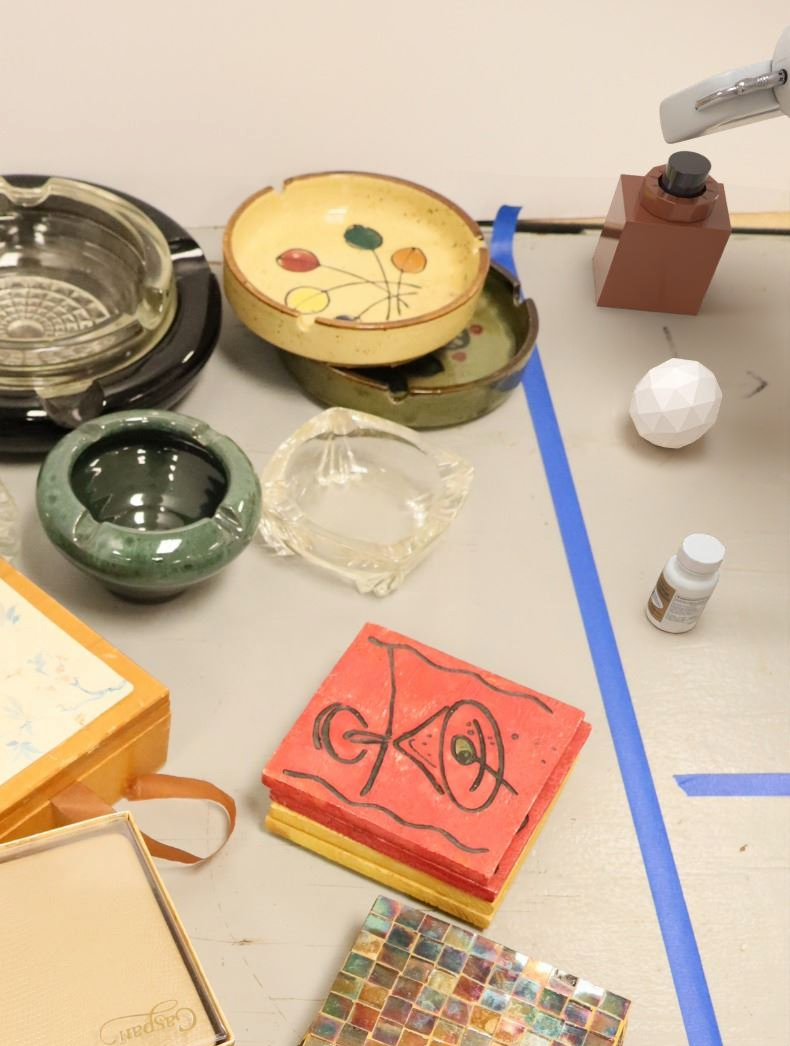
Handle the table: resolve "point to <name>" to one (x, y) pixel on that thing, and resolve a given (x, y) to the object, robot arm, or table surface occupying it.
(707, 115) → the robot arm
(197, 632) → the table surface
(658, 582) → the pill bottle
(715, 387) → the geometric ball
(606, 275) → the dispenser
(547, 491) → the table surface
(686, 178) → the cylinder
